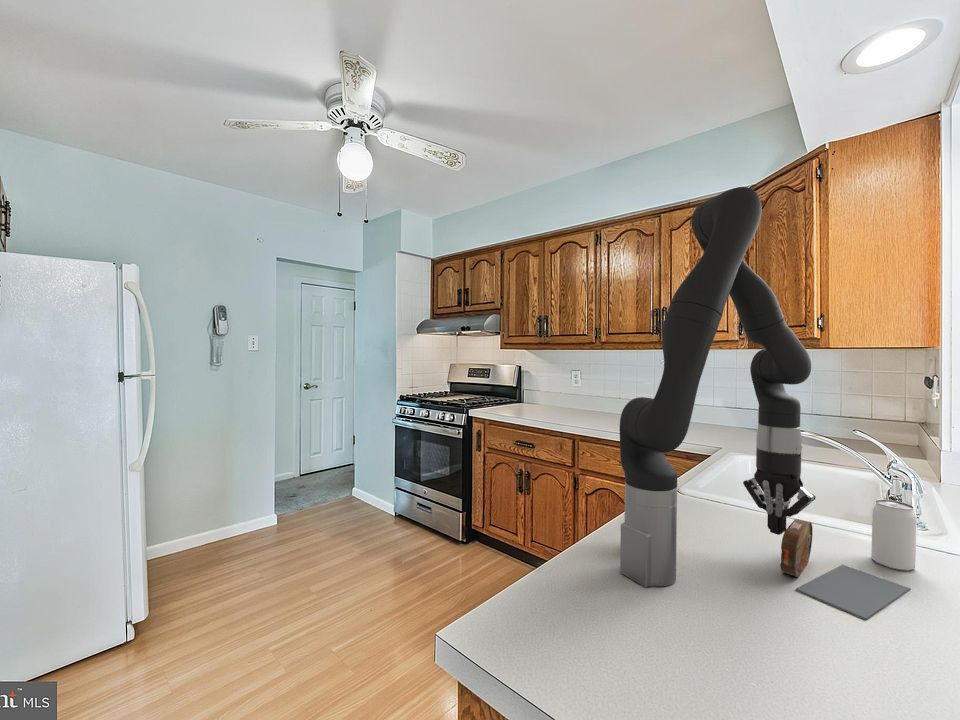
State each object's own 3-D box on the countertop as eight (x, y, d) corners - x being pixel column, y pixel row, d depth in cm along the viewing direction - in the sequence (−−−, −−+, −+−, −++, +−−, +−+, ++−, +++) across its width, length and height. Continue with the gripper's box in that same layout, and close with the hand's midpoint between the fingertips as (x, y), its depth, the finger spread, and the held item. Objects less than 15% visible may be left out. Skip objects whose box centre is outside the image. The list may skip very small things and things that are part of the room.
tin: (794, 584, 81) (800, 540, 80) (774, 576, 83) (780, 533, 82) (811, 557, 91) (817, 518, 90) (793, 551, 93) (798, 512, 93)
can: (906, 560, 90) (908, 501, 90) (922, 574, 84) (923, 511, 84) (866, 553, 93) (867, 496, 93) (878, 567, 87) (879, 506, 87)
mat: (866, 620, 70) (866, 618, 70) (795, 590, 79) (795, 588, 79) (910, 589, 79) (910, 588, 79) (842, 565, 88) (842, 564, 88)
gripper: (734, 443, 93) (733, 525, 94) (806, 456, 82) (804, 550, 82) (754, 439, 97) (753, 518, 97) (825, 452, 86) (823, 541, 86)
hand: (776, 532), depth 90 cm, fingers closed
